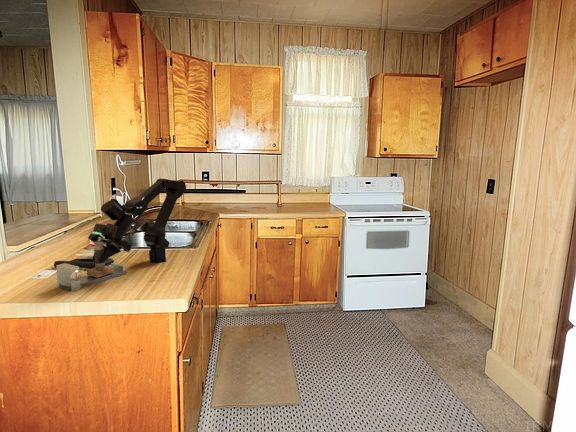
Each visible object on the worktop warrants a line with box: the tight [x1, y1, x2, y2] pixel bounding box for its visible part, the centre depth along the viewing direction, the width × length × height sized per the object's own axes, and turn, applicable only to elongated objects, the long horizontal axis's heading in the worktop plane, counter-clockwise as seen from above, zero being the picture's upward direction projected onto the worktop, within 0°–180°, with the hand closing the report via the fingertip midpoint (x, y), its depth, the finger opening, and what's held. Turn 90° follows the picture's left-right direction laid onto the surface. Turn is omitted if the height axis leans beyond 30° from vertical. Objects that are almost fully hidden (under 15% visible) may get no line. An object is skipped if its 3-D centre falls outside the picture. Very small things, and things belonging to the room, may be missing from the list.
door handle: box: [53, 255, 115, 270], centre depth 152 cm, size 3×20×16 cm
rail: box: [55, 262, 127, 292], centre depth 131 cm, size 22×9×8 cm, turn 153°
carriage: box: [86, 241, 114, 278], centre depth 133 cm, size 7×6×12 cm
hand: (96, 261), depth 132 cm, fingers closed on carriage, 3 cm apart
